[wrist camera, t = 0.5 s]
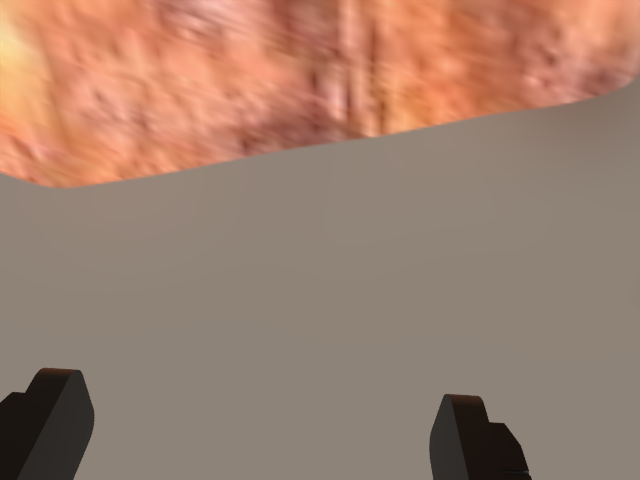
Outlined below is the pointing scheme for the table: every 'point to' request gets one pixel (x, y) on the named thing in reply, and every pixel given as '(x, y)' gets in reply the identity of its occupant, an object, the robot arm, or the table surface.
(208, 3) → the table surface
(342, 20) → the table surface
